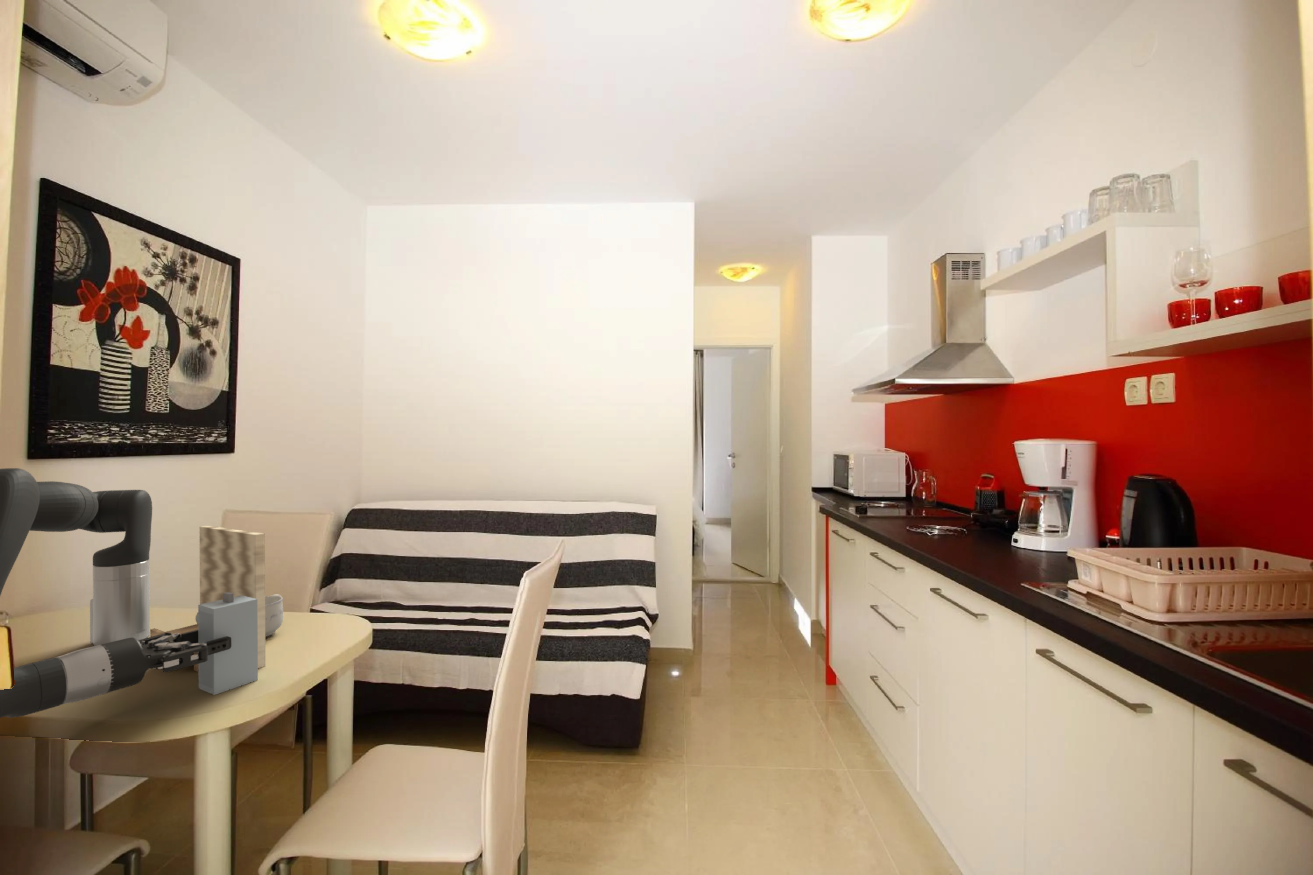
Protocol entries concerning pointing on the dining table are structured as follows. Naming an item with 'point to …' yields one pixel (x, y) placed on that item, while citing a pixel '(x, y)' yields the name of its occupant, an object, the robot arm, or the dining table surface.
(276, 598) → the teacup
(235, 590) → the wooden display stand
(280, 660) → the dining table surface
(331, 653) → the dining table surface
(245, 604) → the bottle
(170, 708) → the dining table surface
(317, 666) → the dining table surface
